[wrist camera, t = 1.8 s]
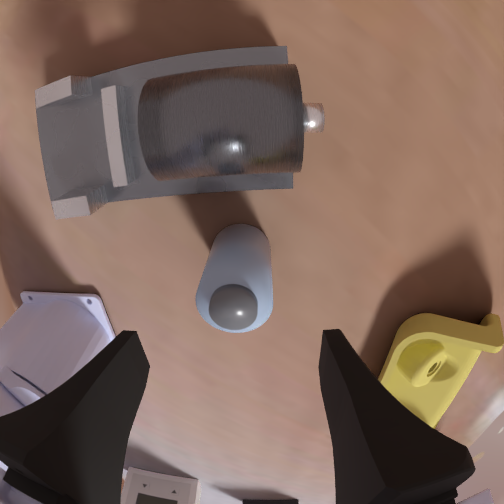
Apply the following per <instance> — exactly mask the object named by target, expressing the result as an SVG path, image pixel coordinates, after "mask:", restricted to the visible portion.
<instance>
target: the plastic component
mask: <svg viewBox="0 0 504 504" xmlns="http://www.w3.org/2000/svg"><path fill="white" fill-rule="evenodd" d="M503 344H504V338H503V332H502V327H501V322H500V317H499V316H498V315H495V314H488V315H486V316H485V317H484V318H483V319H482V321H481V323H480V324H479V325H477V324H473V323H468V322H464V321H460V320H456V319H452V318H448V317H444V316H440V315H436V314H432V313H422V314H417V315H414V316H412V317H410V318H408V319H407V320H406V321H405V322H404V323H403V324H402V325H401V326H400V327H399V329H398V330H397V333H396V335H395V338H394V341H393V343H392V346H391V349H390V351H389V354H388V356H387V359H386V361H385V363H384V366H383V368H382V371H381V373H380V375H379V377H378V380H379V381H380V383H381V384H382V385H383V386H384V387H385V388H386V389H387V390H388V391H389V392H390V393H391V394H392V395H393V396H394V397H395V398H396V399H397V400H398V401H399V402H400V403H401V404H403V405H404V406H405V407H406V408H407V409H408V410H409V411H411V412H412V413H413V414H414V415H416V416H417V417H418V418H420V419H421V420H422V421H424V422H425V423H427V424H428V425H429V426H431V427H432V428H434V429H435V428H436V426H437V424H438V422H439V420H440V418H441V416H442V415H443V414H444V412H445V411H446V409H447V408H448V406H449V405H450V403H451V402H452V400H453V399H454V397H455V396H456V394H457V392H458V391H459V389H460V388H461V386H462V384H463V383H464V381H465V379H466V378H467V376H468V374H469V373H470V371H471V369H472V367H473V366H474V364H475V362H476V360H477V358H478V356H479V355H480V353H481V351H485V352H490V353H497V352H499V351H500V350H501V348H502V346H503Z"/></svg>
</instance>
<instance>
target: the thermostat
mask: <svg viewBox="0 0 504 504" xmlns="http://www.w3.org/2000/svg"><path fill="white" fill-rule="evenodd" d="M201 489H202V487H201V484H200V482H199V480H198V479H191V478H184V477H178V476H172V475H166V474H161V473H156V472H151V471H146V470H141V469H137V468H133V467H129V468H128V472H127V475H126V479H125V482H124V486H123V490H122V494H121V504H200V496H201Z"/></svg>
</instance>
